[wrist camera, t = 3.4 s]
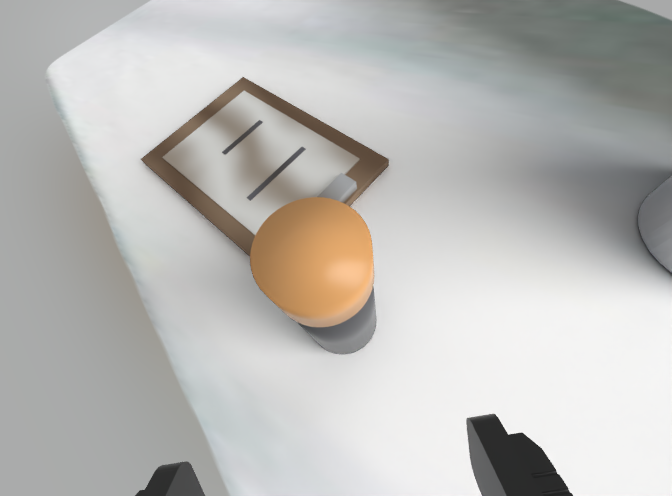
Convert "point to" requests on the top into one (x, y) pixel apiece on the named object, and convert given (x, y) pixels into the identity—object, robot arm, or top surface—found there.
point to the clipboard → (259, 160)
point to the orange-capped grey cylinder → (319, 271)
